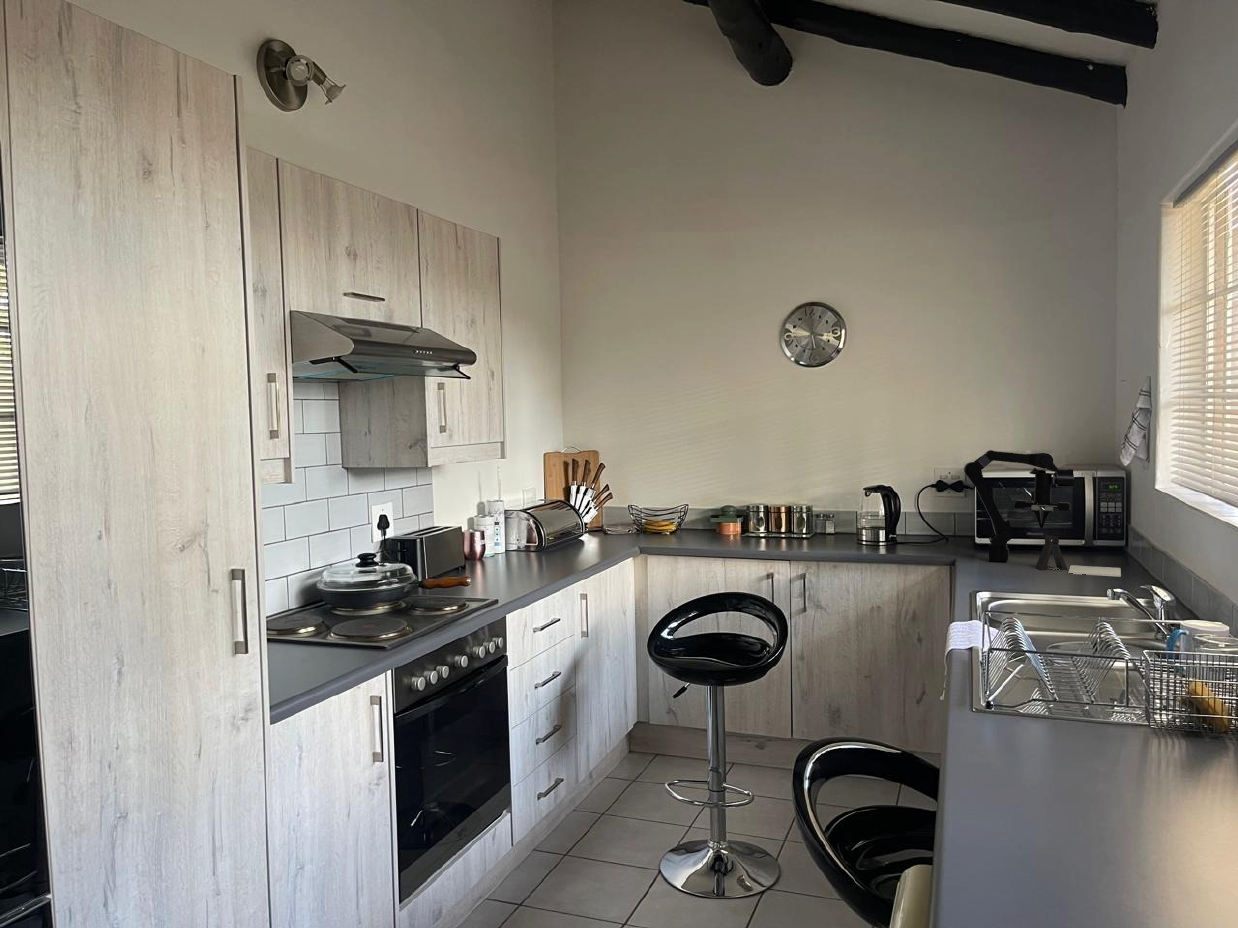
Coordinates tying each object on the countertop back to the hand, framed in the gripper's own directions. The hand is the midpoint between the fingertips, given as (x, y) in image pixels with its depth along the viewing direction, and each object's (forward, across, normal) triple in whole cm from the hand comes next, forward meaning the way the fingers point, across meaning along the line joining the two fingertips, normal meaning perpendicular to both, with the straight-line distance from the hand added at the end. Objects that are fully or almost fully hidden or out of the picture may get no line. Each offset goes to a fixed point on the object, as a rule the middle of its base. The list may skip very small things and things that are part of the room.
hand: (1041, 528), depth 363 cm
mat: (+12, -18, +17) cm, 28 cm away
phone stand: (+13, -4, +17) cm, 22 cm away
